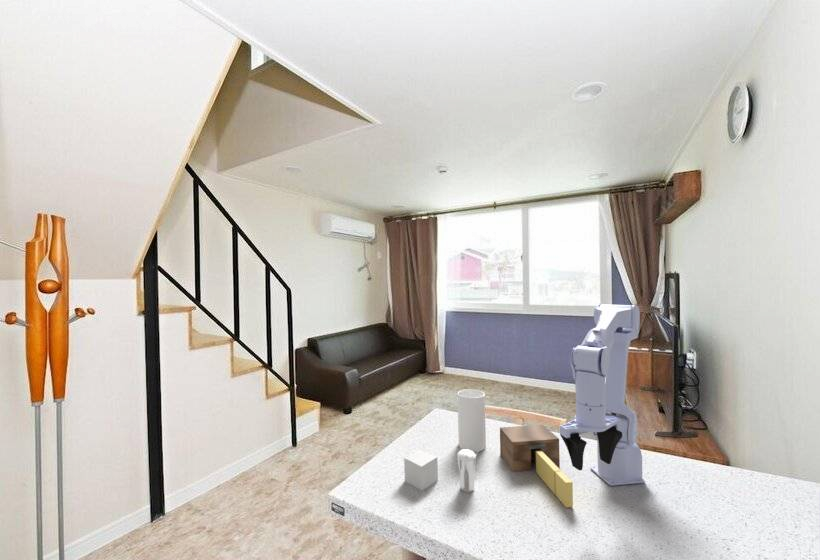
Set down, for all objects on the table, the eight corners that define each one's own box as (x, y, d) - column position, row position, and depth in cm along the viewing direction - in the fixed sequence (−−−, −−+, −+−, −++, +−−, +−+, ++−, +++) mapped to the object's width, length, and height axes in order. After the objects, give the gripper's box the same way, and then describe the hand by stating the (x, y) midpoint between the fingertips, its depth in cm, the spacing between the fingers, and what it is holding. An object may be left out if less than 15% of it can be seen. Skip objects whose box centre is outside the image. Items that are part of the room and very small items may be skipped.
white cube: (422, 491, 83) (421, 466, 83) (404, 481, 87) (404, 458, 87) (438, 480, 88) (437, 456, 87) (420, 471, 92) (420, 449, 92)
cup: (488, 451, 101) (487, 397, 101) (460, 452, 101) (459, 398, 101) (482, 438, 109) (481, 388, 109) (457, 439, 109) (456, 389, 109)
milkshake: (480, 495, 81) (479, 453, 81) (457, 493, 82) (456, 451, 82) (480, 484, 85) (479, 444, 85) (458, 482, 86) (457, 442, 86)
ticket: (542, 471, 90) (541, 450, 90) (573, 506, 76) (572, 482, 76) (535, 472, 90) (535, 451, 90) (565, 507, 76) (565, 482, 76)
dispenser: (543, 451, 101) (542, 424, 101) (560, 469, 91) (560, 439, 91) (500, 454, 100) (499, 427, 100) (513, 472, 90) (513, 443, 90)
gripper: (601, 392, 80) (602, 450, 80) (549, 399, 76) (550, 461, 76) (628, 402, 73) (630, 466, 73) (573, 411, 69) (574, 478, 69)
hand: (591, 464), depth 74 cm, fingers open, 7 cm apart
